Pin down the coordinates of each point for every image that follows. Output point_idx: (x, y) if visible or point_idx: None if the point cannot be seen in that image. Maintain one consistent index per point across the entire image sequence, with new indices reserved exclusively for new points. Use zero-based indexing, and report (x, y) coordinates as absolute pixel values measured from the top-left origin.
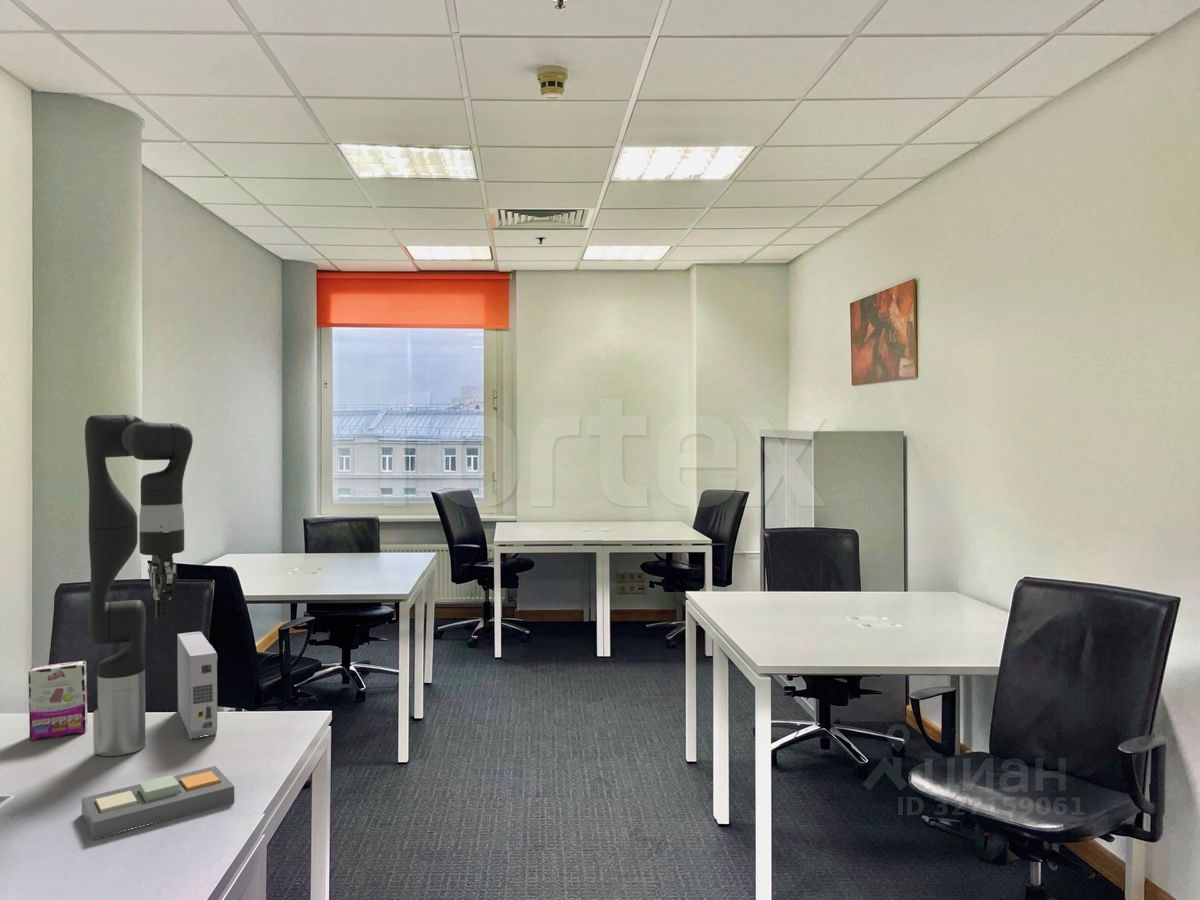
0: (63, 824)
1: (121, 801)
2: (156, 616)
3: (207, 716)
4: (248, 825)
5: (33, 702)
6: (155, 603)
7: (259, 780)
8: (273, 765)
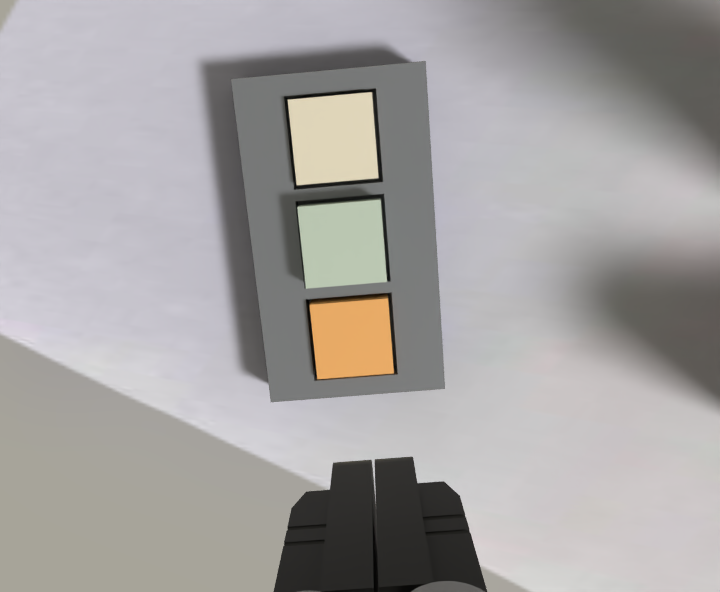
0: (382, 24)
1: (312, 150)
2: (362, 470)
3: None
4: (128, 387)
5: None
6: (412, 552)
7: None
8: None
